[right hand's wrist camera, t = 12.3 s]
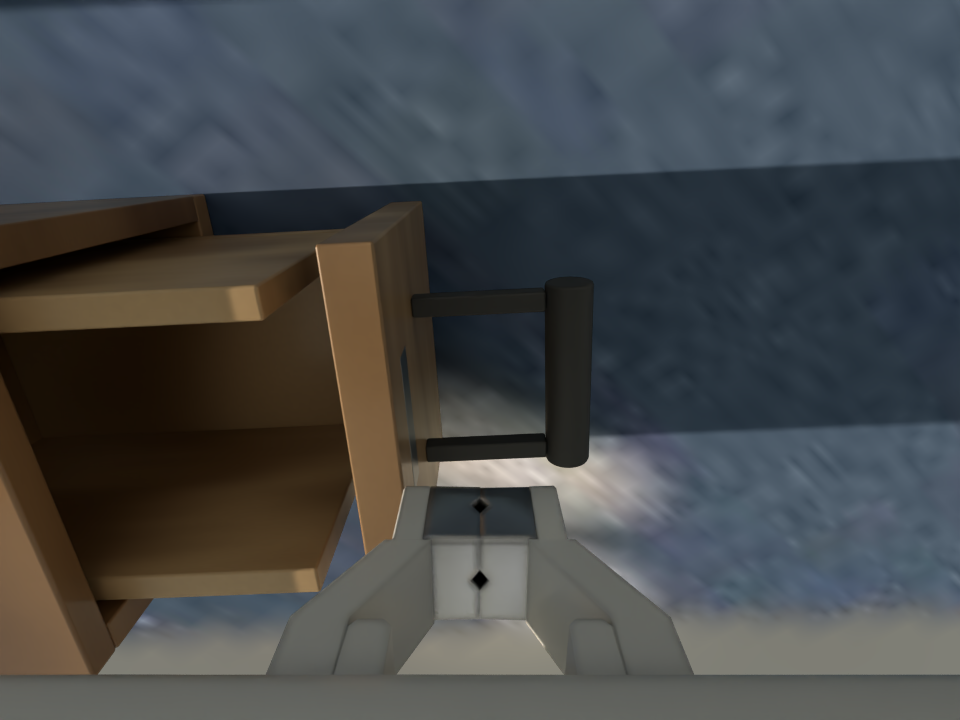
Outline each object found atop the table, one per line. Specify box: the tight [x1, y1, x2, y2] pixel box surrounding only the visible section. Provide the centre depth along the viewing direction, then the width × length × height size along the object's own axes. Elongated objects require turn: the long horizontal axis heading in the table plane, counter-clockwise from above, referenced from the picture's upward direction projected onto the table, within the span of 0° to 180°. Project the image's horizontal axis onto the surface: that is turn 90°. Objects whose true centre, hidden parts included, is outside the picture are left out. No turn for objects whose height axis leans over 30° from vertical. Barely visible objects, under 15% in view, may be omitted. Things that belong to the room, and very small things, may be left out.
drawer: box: [0, 201, 594, 600], centre depth 17 cm, size 22×10×10 cm, turn 93°
